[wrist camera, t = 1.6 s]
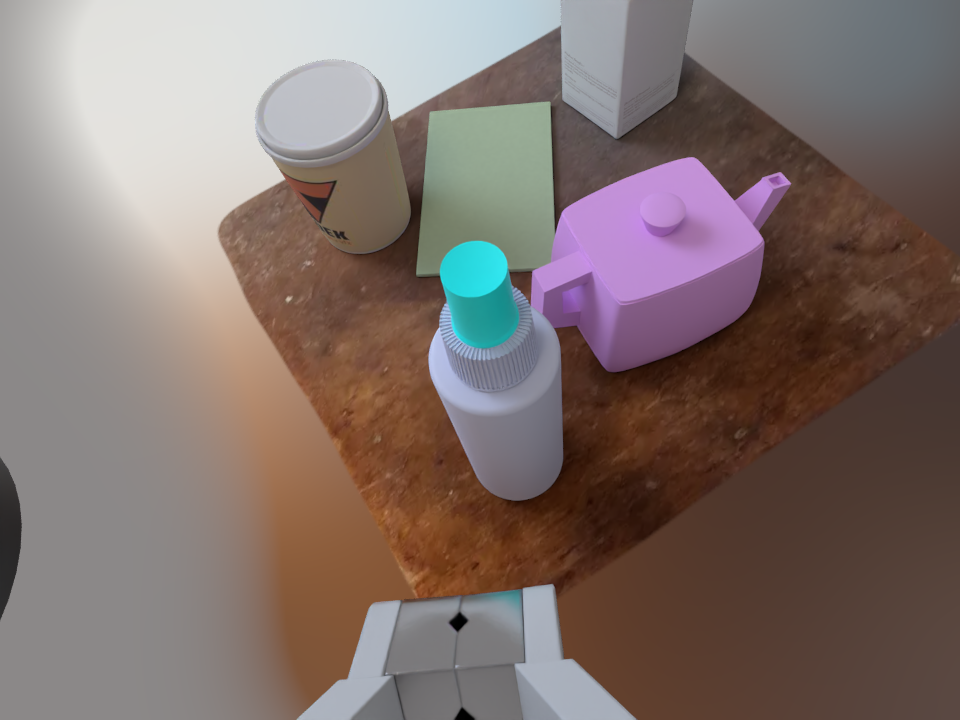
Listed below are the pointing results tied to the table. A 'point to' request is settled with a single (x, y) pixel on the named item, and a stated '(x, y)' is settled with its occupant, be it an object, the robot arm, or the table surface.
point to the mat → (489, 185)
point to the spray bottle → (498, 374)
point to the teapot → (655, 262)
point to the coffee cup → (337, 152)
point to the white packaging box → (622, 58)
